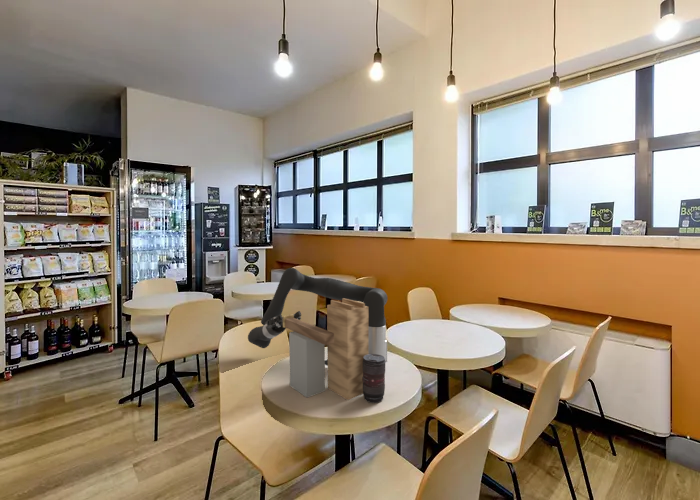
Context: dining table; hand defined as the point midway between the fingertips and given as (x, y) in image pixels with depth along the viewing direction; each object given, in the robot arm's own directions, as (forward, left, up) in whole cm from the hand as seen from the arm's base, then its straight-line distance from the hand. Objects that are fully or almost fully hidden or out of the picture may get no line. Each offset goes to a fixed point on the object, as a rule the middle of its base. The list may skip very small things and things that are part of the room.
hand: (290, 315), depth 138 cm
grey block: (0, +11, -26) cm, 28 cm away
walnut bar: (0, +11, -5) cm, 12 cm away
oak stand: (-11, +22, -26) cm, 36 cm away
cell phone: (-24, -4, -27) cm, 36 cm away
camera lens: (-14, +33, -26) cm, 45 cm away
